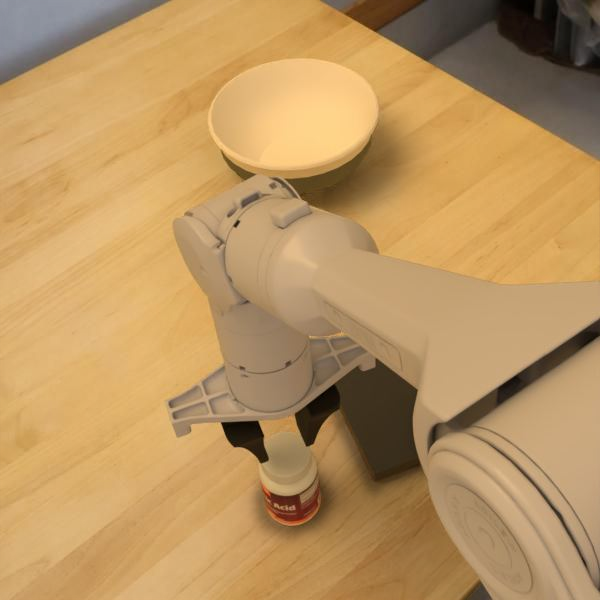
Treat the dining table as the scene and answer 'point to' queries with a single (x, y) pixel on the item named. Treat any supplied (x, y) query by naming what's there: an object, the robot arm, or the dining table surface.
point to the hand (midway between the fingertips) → (283, 443)
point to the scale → (380, 418)
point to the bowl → (295, 122)
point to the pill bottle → (290, 479)
